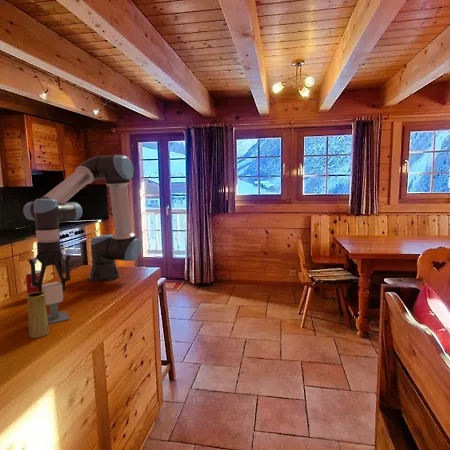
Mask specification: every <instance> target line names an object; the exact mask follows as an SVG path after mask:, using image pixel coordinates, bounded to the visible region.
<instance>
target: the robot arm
mask: <svg viewBox="0 0 450 450" xmlns="http://www.w3.org/2000/svg"><path fill="white" fill-rule="evenodd" d="M134 169H135V168H134V164H133V163H132V161H131V159H130V158H129V157H128V156H126V155H122V154H114V155H113V154H112V155H96V156H93V157H91V158H89V159H87V160H84V161H83V162H82V163H80V164H78V166H77V167H75V169H74V172H73V173H72V174H70V175H68V176H67V177H66V178H65V179H64V180H62V181H61V182H60V183H59V184H58V185H56V186H54V188H52V189H51V190H49V191H48V192H47V193H46V194H45V195H44V196H42V197H40V198H36V199H35V200H34V201H29V202H27V203H26V204H25V205H23V209H22V211H23V214H24V217H25V218H26V219H27V220H29V221H30V220H31V221H34V224H35V236H36V249H37V252H36V253H37V254H36V256H35V257H32V258H29V259H28V263H29V265H30V271H31V280H32V286H37V287H38V292H44V293H45V291H44V285H42V282H43V283H44V278H45V273H46V269H47V267H50V266H54V267H55V270H56V272H57V275H58V277H59V279H60V281H58V282H59V284H60V287H61V299H62V301H64V293H63V292H65V291H66V283H67V282H69V281H70V280H71V271H70V258H71V255H69V254H68V253H67V254H64V253H62V249H61V240H60V239H61V238H60V225H59V224H60V223H66V222H74V221H77V220H79V219H81V217H83V207H82V206H81V204H79V203H78V202H75V201H69V200H70V199H72V198H73V197H74V196H75V195H76V194H77V193H79V192H80V190H81V189H83V188H84V187H85V186H87V185H89V184H90V185H91V184H92V183H93V182H94V181H99V180H104V181H105V182H104V183H105V185H106V186H108V187H109V195H110V203H111V211H112V212H111V213H112V222H113V228H114V234H102V235H98V236H94V237H92V238H91V239H90V254H91V267H90V270H89V271H90V272H89V274H88V278H89V280H90V281H91V282H96V283H97V282H100V283H101V282H102V283H103V282H110V281H113V280H115V279H116V280H117V279H118V278H119V277H120V272H119V269H118V266H117V263H116V261H125V262H131V261H135V260H137V259H138V258H139V256H140V254H141V251H142V241H141V240H140V239H139V238H137V235H136V233H135V232H133V226H132V219H131V208H130V198H129V190H128V188H129V187H128V185H129V184H130V183H131V179H132V178H133V177H134ZM61 259H62V260H64V261H63V262H64V264H63V265H64V274H65V277H64V275H63V271H62V269H61V267H60V264H59V262H60V260H61ZM37 261H38V262H39V263H41V266H40V270H39V271H40V275H39V279H38V282H36V274H35V271H36V264H37Z"/></svg>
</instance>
